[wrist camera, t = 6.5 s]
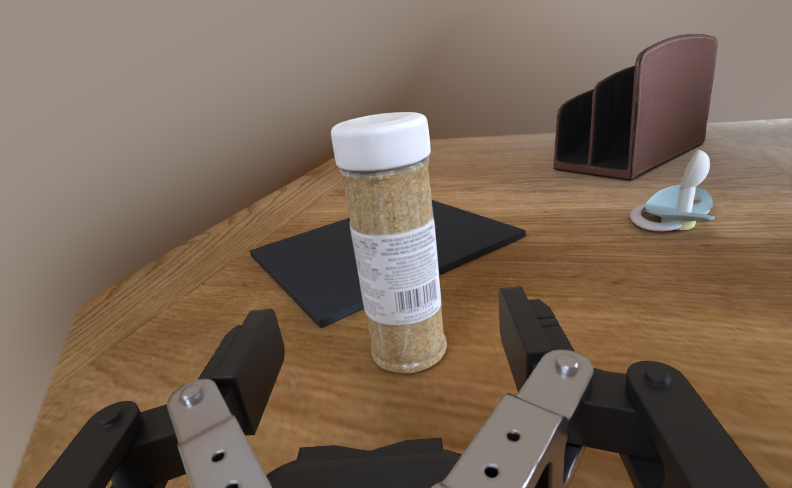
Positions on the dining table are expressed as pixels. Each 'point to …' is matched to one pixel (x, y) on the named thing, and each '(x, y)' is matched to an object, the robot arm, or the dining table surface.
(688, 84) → the letter holder
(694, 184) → the pacifier
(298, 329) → the dining table surface
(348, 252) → the placemat
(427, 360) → the sprinkles bottle
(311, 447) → the robot arm
